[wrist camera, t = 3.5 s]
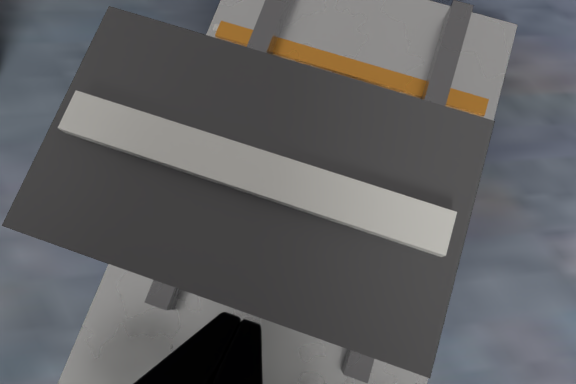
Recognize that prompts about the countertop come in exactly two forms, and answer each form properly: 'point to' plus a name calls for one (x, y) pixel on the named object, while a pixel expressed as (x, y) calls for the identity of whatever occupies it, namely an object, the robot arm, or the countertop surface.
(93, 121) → the fader tab
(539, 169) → the countertop surface
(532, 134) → the countertop surface
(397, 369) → the plate
